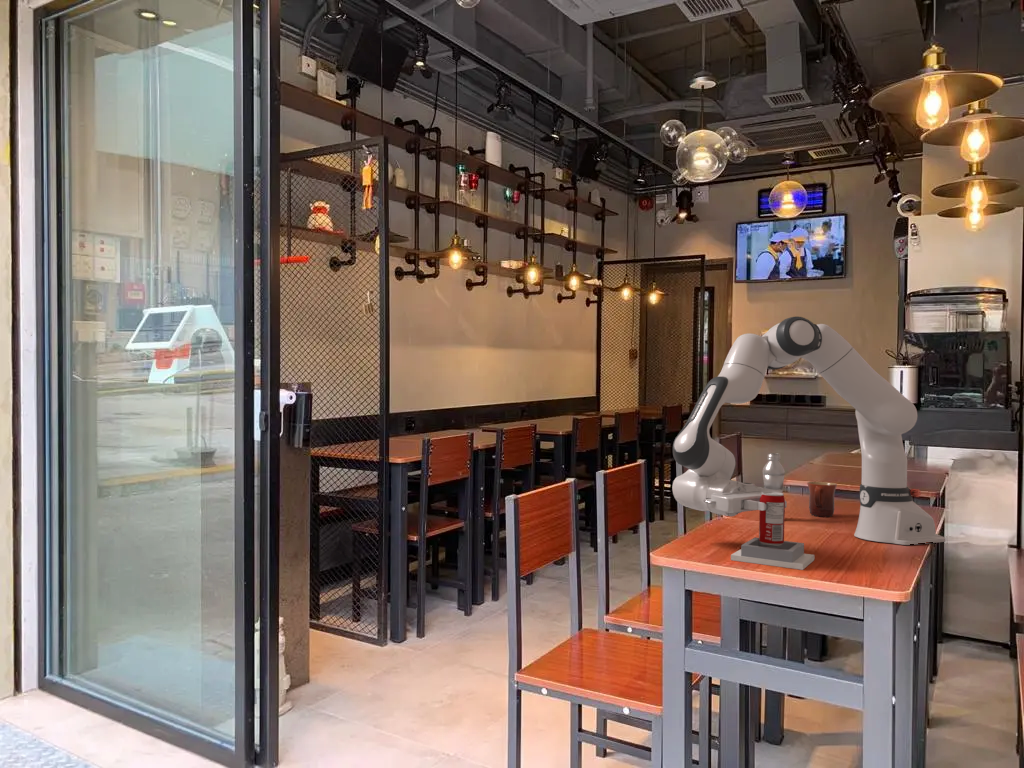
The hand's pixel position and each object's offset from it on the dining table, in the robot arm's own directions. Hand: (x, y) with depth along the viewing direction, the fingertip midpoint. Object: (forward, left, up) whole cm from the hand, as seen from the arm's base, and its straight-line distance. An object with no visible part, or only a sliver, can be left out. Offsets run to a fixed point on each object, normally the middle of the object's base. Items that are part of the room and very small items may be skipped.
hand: (775, 505), depth 178 cm
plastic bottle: (-30, -53, -13) cm, 62 cm away
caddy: (0, -1, -13) cm, 13 cm away
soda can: (0, -1, -9) cm, 9 cm away
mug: (-48, -56, -13) cm, 74 cm away
